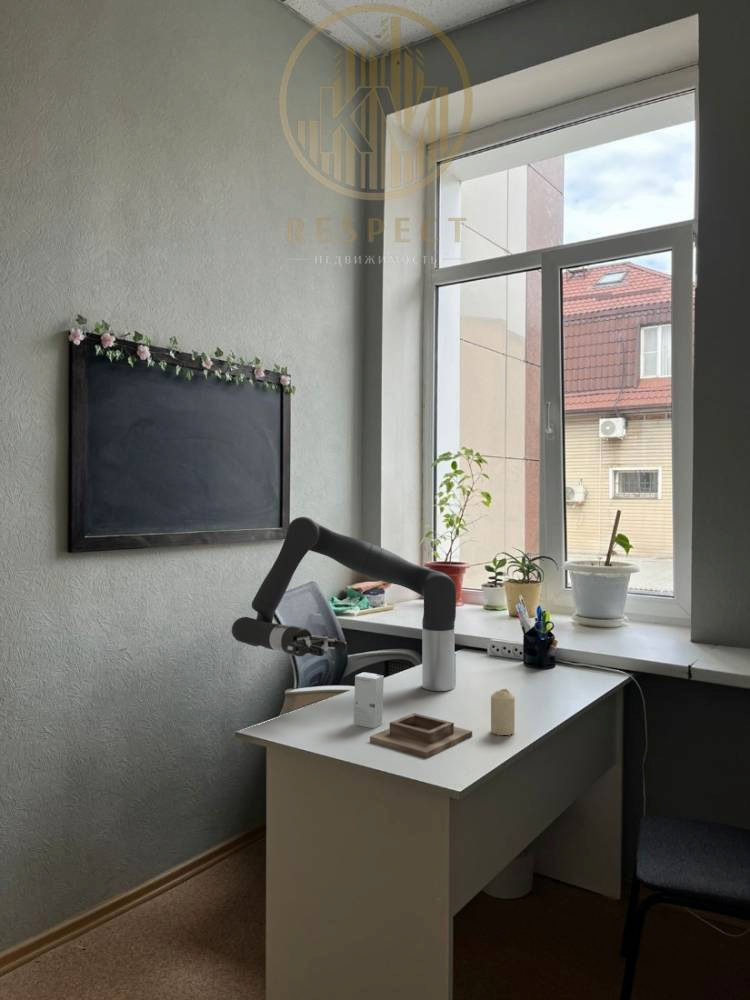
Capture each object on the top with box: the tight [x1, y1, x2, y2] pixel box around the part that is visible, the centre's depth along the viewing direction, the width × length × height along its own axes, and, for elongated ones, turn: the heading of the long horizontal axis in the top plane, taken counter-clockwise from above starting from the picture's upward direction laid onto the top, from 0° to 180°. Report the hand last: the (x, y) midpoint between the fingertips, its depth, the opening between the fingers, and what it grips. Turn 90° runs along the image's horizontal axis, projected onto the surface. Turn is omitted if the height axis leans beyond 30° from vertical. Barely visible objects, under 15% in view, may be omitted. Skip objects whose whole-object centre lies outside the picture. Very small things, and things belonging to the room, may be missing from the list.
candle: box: [490, 688, 516, 736], centre depth 174 cm, size 6×6×10 cm
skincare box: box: [353, 671, 385, 729], centre depth 180 cm, size 6×4×12 cm
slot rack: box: [369, 712, 473, 759], centre depth 169 cm, size 18×16×4 cm
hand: (334, 649), depth 187 cm, fingers open, 8 cm apart
